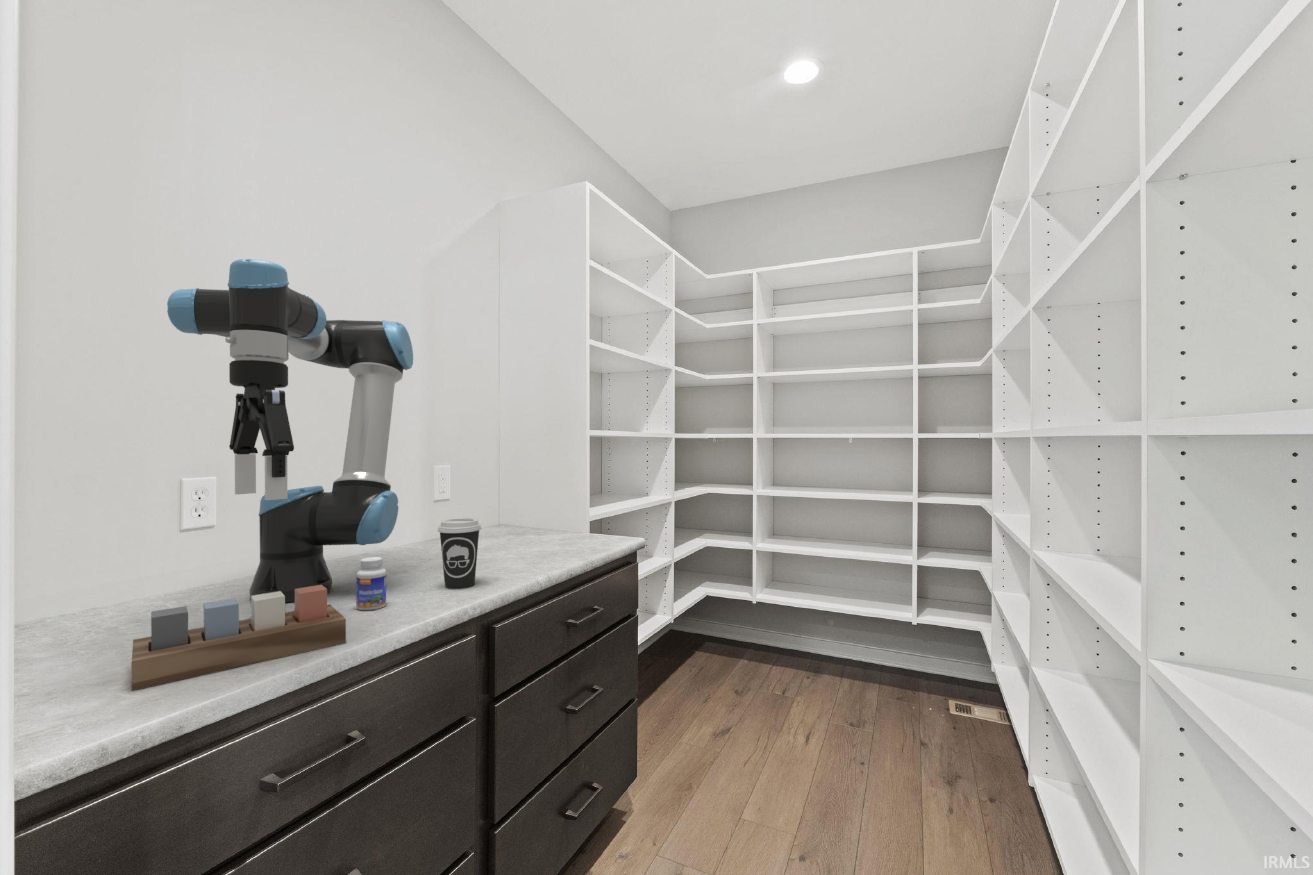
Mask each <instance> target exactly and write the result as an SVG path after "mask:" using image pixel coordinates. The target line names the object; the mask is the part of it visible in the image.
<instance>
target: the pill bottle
mask: <svg viewBox="0 0 1313 875" xmlns="http://www.w3.org/2000/svg"><path fill="white" fill-rule="evenodd" d="M383 562H384V559H383V557H378V556H373V557H364V558H362V559H360V567H361V569H360V570H358V571H357V573H356V590H355V592H356V593H355V596H356V597H355V601H356V602H355V607H356V610H358V611H374V610H378V609H382V608H383V607H385V606H386V605H387V570H386V568H384V567H383V564H384V563H383Z"/></svg>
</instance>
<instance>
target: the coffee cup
mask: <svg viewBox="0 0 1313 875" xmlns="http://www.w3.org/2000/svg"><path fill="white" fill-rule="evenodd" d="M478 520H479V519H478V518H470V517H460V518H450V519H449V518H448V519H444V520H441V522H440V525H439V526H438V529H437V532H439V538H440V547H441V557H442V567H443V568H442V569H443V582H444V587H445V589H449V590H461V589H467V588H472V587H473V586H474V585H475V584H476V570H477V560H478V559H477V558H478V548H479V538H480V537H479V536H480V530H482V526H481V524H480V523H479V521H478Z"/></svg>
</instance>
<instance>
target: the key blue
mask: <svg viewBox="0 0 1313 875" xmlns="http://www.w3.org/2000/svg"><path fill="white" fill-rule="evenodd" d="M239 607H240V604H239V601H238V600H237V598H230V599H229V598H228V599H222V600H215V601H208V602H204V603H203V627H204V639H205V641H207V640H212V639H217V638H223V637H228V636H233V635H238V634H239V621H240V615H239V614H240V611H239V610H240V608H239Z"/></svg>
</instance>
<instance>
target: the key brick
mask: <svg viewBox="0 0 1313 875" xmlns="http://www.w3.org/2000/svg"><path fill="white" fill-rule="evenodd" d="M327 605H328V593H327V589H326V588H325V587H324V586H323V585H316V586H310V587H304V588H297V589H295V601H294V611H295V619H296V621H297V622H298V623H300V622H305V621H311V620H316V619H321V618H326V617H327Z"/></svg>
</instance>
